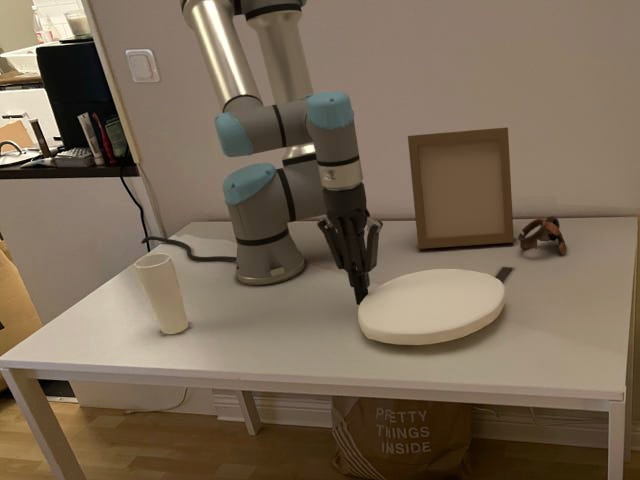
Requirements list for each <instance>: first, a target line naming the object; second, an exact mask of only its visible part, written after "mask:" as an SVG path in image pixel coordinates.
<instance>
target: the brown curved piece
mask: <svg viewBox="0 0 640 480" xmlns="http://www.w3.org/2000/svg"><path fill="white" fill-rule="evenodd" d="M539 226H540V228H538V229H537V230H536V231H535V232H533V233H532V234H530V235H529V236H527V235H528V234H529V233H530V232H531V231H534V230H535V229H536V228H537V227H539ZM517 239H518V241H519V247H520V249H521V250H530V249H535V250H538V241H539V242H551V241H553V242H555V241H557V242H558V247H557V249H558V251H559V253H560V255H561V256H564V255H565V253H566V252H567V245H566V242H565V239H564V236H563V234H562V232H561V230H560V221H559V219H558V218H557V217H556V216H554V215H551V216H548V217H547V218H543V217H539V218H535V219H534V220H532V221H530V222H529V223H528V224H526V225H525V226H524V227H523V228H522V229H521V232H520V233H519V234H518V235H517Z"/></svg>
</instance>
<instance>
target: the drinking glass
mask: <svg viewBox="0 0 640 480" xmlns="http://www.w3.org/2000/svg"><path fill="white" fill-rule="evenodd" d="M134 268H135V272H136V275H137V278H138V280H139V283H140V285H141V288H142V290H143V292H144V295H145V296H146V299H147V300H148V301H147V302H148V303H149V306H150V307H151V309H152V312H153V314H154V316H155V318H156V321H157V323H158V326H159V329H160V330H161V332H162V333H163V334H165V335H177V334H179V333H182V332H184V331H185V330H186V329H188V327H189V320H188V317H187V312H186V309H185V304H184V300H183V296H182V291H181V287H180V282H179V279H178V274H177V271H176V268H175V265H174V262H173V260H172V256H171V255H170V254H168V253H163V252H159V253H152V254H148V255H145V256H142V257H140V258H139V259H137V260H136V261H135V262H134Z"/></svg>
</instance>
